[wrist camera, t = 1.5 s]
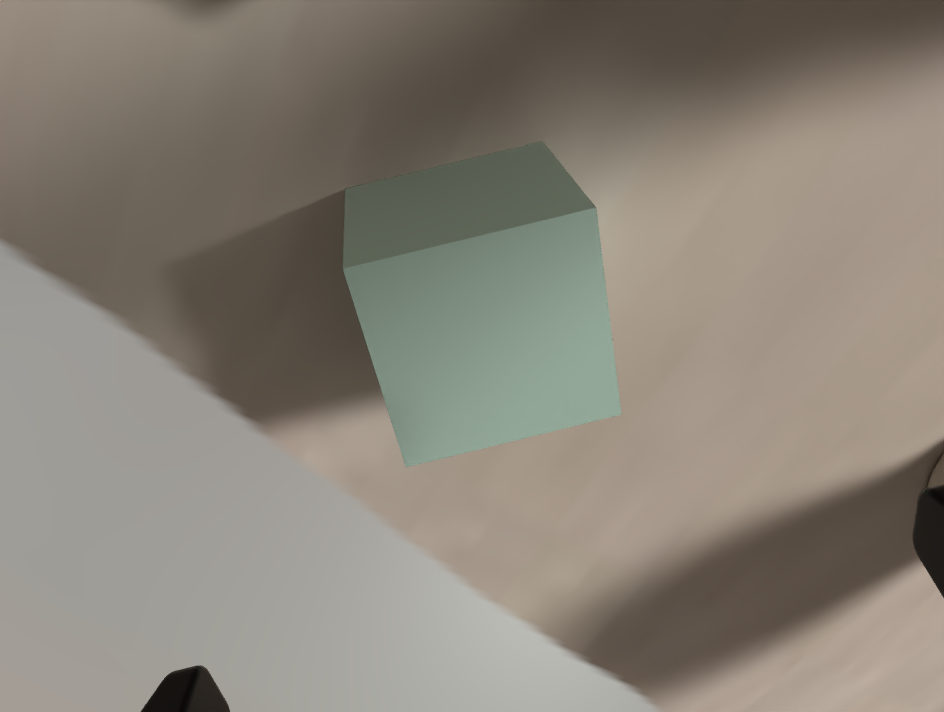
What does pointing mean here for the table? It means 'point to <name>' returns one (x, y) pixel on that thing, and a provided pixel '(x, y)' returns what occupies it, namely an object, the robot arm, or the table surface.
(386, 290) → the sage block
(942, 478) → the beer glass
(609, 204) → the table surface
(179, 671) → the robot arm
